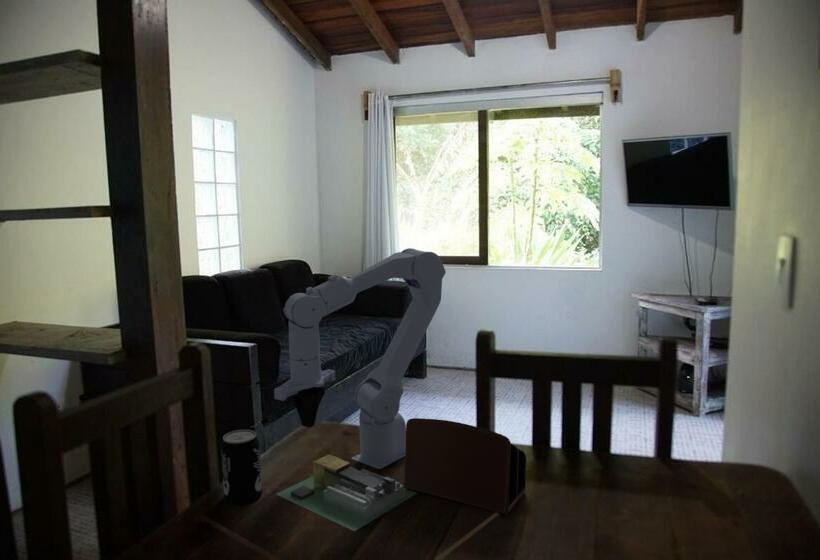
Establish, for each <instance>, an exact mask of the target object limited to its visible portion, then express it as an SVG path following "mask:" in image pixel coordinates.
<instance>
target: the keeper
mask: <svg viewBox="0 0 820 560" xmlns="http://www.w3.org/2000/svg"><path fill="white" fill-rule="evenodd" d="M348 466H351V462H348V461H347V460H343V459H341V458H340V457H339V456H338V457H337V456H334V455H332V454H326V455H325V456H323V457H320V458H318V459H316V460H314V461H312V470H313V471H312V472H313V475H312V476H314V488H316V489H319V490H321V491H324V490H326V489H327V487H329V486H333V485H334V483H339V482H341V478H339V477H337V476H335V475H332V474H330V473H328V470H331V471H333V472H338V471H340V470H342V469H344V468H346V467H348Z"/></svg>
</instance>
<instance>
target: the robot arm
mask: <svg viewBox="0 0 820 560" xmlns="http://www.w3.org/2000/svg"><path fill="white" fill-rule="evenodd" d="M446 272H447V271H446V269H445V266H444V264H443V261H442V259H441V258H440V256H439V255H438V254H437V253H435V252H433V251H426V250H425V251H424V250H419V249H415V248H410V247H409V248H405V249H403V250H402V251H398V252H395V253H394V252H393V254H391V255H389V256H387V257H385V258H384V259H383V260H381V261H379V262H376V263H374V264H373V265H371V266H369V267H367V268H365V269H364V270H361V271H359V272H358V273H356V274H354V275H352V276H350V277H347V276H344V275H338V276H336V275H335V274H332V275H330V276H328V277H327V278H328V280H327V281H325V282H322V283H321V284H319V285H317V286H314V287H312V286H309V287H307V288H305V291H306V293H305V292H303V293H302V292H297V293H294V294H292V295H290V296H289V298H288V299H287V300H286V302H285V304H284V307H283V310H282V311H283V314H284V315H285V317H286V319H287V320H288V350H289V365H290V366H289V367H290V368H289V370H290V371H289V372H290V379H288V380H287V381H286V382H284V383H282V385H279V386H277V387H275V388H274V393H273V394H274V400H278V401H282V402H283V401H285V400H287V398H290V400H291V401H292V403H293V405H294V407H295V409H296V411H297V414H298V417H299V421H300V423H301V426H302V427H306V428H311V427H314V426H315V423H316V419H317V415H318V410H319V406H320V405H321V402H322V400H323V398H324V397H325V395H326V394H325V393H326V389H325V388H324V387H323V386H325V383H328V382H334V381H336V370H333V369H329V368H328V369H325V370H324V369H323V370H322V367H321V366H322V365H321V364H322V363H321V345H320V344H321V343H320V342H321V341H320V340H321V339H320V331H319V329H320V328H319V327H320V326H319V325H320V324H319V323H320V322H321V321H322V318H323V317H325V316H327V315H330V314H332V313H333V312H336V311H338V310H339V309H343V308H344V307H346V306H348V305H349V304H352V303H353V302H354V301H355V299H356V297H357V295H358V293H360V292H362V291H365V290H367V289H370V288H372V287H374V286H377V285H379V284H381V283H384V282H386V281H388V280H391V279H394V278H395V279H400V280H401V279H403V281H404V283H406V285H407V287H408V289H409V291H410V294H411V297H412V298H411V302H409V303H410V304H409V305H408V307H407V309H406V312H405V313H404V315H403V317H402V319H401V321H400V322H399V326H398V327H397V328H396V331H395V333H394V335H393V336H392V339H391V340H390V343H389V345H388V347H387V349H386V351H385V352H384V355H383V356H382V358H381V361H380V363H379V364H378V366H377V367H376V368H374V369H373V370H371V371H369V372H368V375H367V376H366V378H365V379H364V380H363V381H362V382H360V383H359V384H358V385H357V387H356V388H355V391H354V401H355V404H356V405H357V407H359V408H360V409H359V410H360V412H359V414H358V415H359V417H358V418H359V419H358V420H359V446H360V449H359V454H357V455H354V456H352V457H351V460H354V461H355V462H356V461H357V462H358V463H362V464H365V465H367V466H370V467H373V468H375V469H382V468H384V467H386V466H388V465H390V464H392V463H394V462H397V461H398V460H400V459H402V458H403V457H404V458H405V449H406V421H405V419H404V417H403V415H402V414H401V413H400V412H399V410H400V403H401V398H402V396H403V394H404V385H403V377H404V375H405V373H406V372H407V370H408V368H409V366H410V363H411V362H412V360H413V357H414V355H416V352H417V350H418V348H419V346H420V343H421V342H422V340H423V337H424V336H425V334H426V332H427V330H428V328H429V326H430V323H431V322H432V321H433V318H434V316H435V314H436V312H437V310H438V309H439V306H440V304H441V301H442V289H443V288H442V286H443V279H444V276H445V275H446Z"/></svg>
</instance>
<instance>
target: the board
mask: <svg viewBox="0 0 820 560" xmlns="http://www.w3.org/2000/svg"><path fill="white" fill-rule="evenodd" d="M349 467H352V468H354V469H356V470H358V469H357V467H354V466H351V465H350V466H349ZM343 480H344V479H341V481H343ZM417 494H418V492H416V491H412V490H408V489H405V488H404V498H405V499H403V500H401V501H400V502H398V503H396V504H395V505H393V506H391V507H390V508H388V509H386V510H385V511H383V512H381V513H380V514H378V515H377V516H375V517H373V518H372V519H370V520H368V521H367V522H363V521H361V520H359V519H357V518H354V517H352V516H350V515H348V514H345V513H343V512H341V511H339V510H337V509H334V508H332V507H330V506H328V505H325V504H324V501H323V491H321V490H319V489H316V488H314V476H313V475H312V476H311V477H308V478H306V479H304V480H301V481H300V482H298V483H296V484H294V485H292V486H289V487H288V488H285V489H284V490H281V491H279V492H277V493H275V496H278V497H280V498H282V499H285V500H286V501H288V502H291V503H292V504H295V505H297V506H299V507H302V508H304V509H305V510H308V511H309V512H312V513H314V514H317V515H318V516H320V517H322V518H324V519H327V520H328V521H331V522H333V523H335V524H337V525H340V526H342V527H344V528H346V529H348V530H350V531H353V532H356V531H358V530H359V529H361V528H363V527H364V526H366V525H367V524H370V522H372V521H374V520H376V519H378V518H379V517H380V516H383V515H384V514H385V513H387V512H389V511H390V510H392V509H394V508H396V507H398V506H399V505H401V504H402V503H404V502H406V501H407V500H408V499H411V498H412V497H414V496H415V495H417Z"/></svg>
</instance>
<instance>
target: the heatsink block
mask: <svg viewBox="0 0 820 560" xmlns="http://www.w3.org/2000/svg"><path fill="white" fill-rule="evenodd" d="M360 471H361V472H364V473H366V474H369V475H371V476H373V477H376V478H378V479H381V480H383V481H386V482H387V483H388V487H387V488H385V489H383V490H381V491H379V492H378V493H377V490H376V489H374V488H371V487H367V488H365V489H364V488H362V487H360V486H358V485H355V484H353V483H351V482H348V481H346V480H343V481H341V482H339V483H334V485H333V486H329V487H327V489H326V490H324V491H323V501H324V504H325V505H328V506H330V507H332V508H334V509H337V510H339V511H341V512H343V513H345V514H348V515H350V516H352V517H354V518H357V519H359V520H361V521H363V522H367V521H368V520H370V519H372V518H373V517H375V516H377V515H378V514H380V513H381V512H383V511H385V510H386V509H388V508H390V507H391V506H393V505H395V504H396V503H398V502H400V501H401V500H403V499H405V498H404V484H401V482H399V481H397V480H396V479H394V478H391V477H389V476H384V475H380V474H378V473H375V472H373V471H369V470H367V469H364V468H361V470H360Z"/></svg>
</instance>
